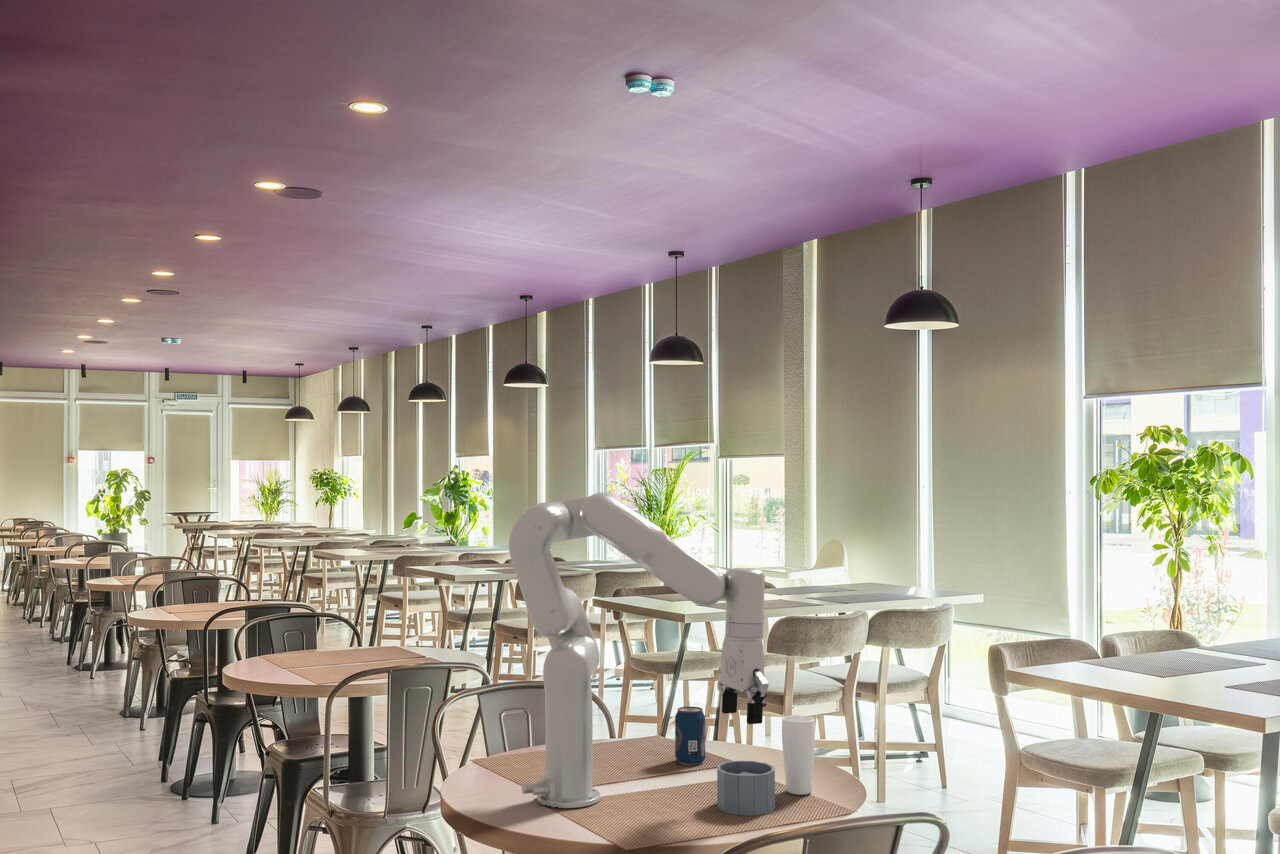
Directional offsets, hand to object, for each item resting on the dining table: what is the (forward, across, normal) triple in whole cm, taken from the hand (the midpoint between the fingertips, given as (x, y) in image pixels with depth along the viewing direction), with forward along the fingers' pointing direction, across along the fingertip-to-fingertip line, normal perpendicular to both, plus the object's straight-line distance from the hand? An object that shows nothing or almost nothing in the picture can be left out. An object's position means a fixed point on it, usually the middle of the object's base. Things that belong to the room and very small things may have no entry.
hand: (741, 718), depth 209 cm
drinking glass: (+17, -3, +16) cm, 24 cm away
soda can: (+18, -34, +7) cm, 39 cm away
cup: (+17, +1, +1) cm, 17 cm away
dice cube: (+16, +1, +2) cm, 17 cm away
